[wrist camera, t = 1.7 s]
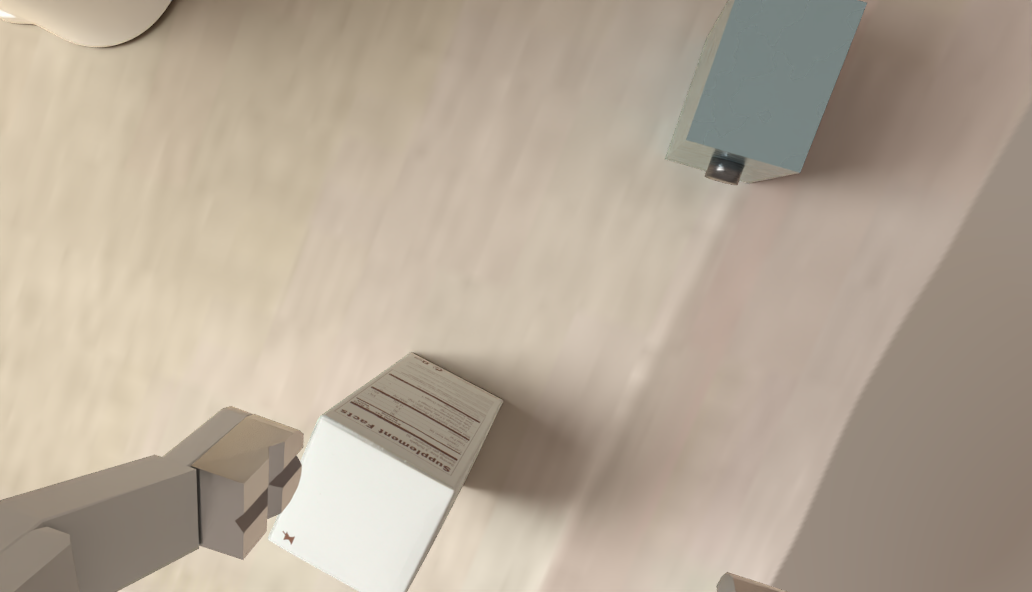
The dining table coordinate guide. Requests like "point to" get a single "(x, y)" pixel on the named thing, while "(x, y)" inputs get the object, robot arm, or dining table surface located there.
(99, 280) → the dining table surface
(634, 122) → the dining table surface
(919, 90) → the dining table surface
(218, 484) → the robot arm
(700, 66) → the block
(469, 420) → the supplement box
